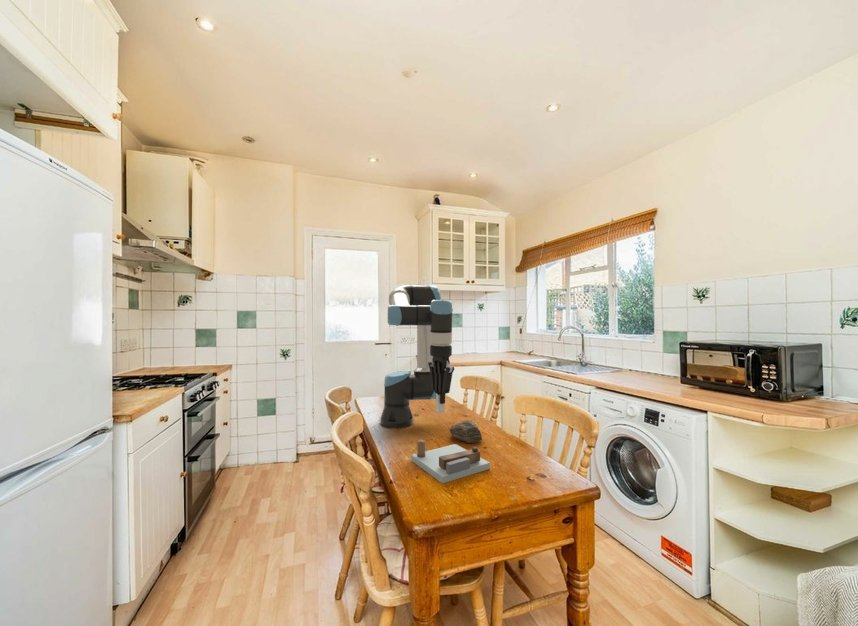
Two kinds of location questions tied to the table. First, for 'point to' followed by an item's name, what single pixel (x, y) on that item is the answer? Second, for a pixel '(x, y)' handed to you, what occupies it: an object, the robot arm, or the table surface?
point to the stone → (466, 431)
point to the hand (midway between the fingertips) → (440, 412)
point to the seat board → (434, 463)
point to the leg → (460, 457)
